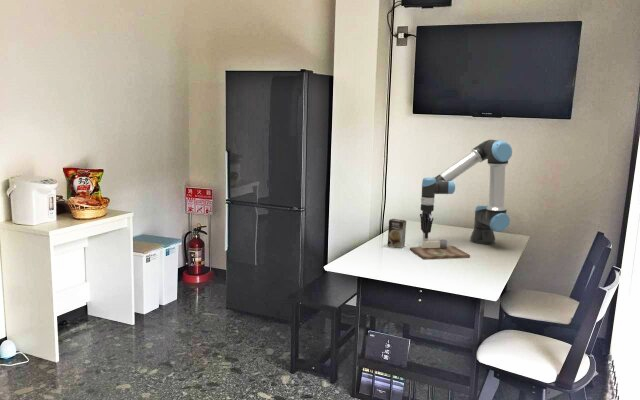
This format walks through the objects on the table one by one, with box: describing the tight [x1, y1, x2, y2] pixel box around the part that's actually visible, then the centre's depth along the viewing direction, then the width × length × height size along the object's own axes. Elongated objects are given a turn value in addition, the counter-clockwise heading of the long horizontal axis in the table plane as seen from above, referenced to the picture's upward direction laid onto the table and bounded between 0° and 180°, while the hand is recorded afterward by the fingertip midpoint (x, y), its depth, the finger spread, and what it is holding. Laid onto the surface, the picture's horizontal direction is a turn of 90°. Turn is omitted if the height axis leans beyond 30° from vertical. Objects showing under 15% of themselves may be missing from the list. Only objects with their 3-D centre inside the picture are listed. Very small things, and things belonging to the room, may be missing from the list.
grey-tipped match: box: [421, 239, 448, 249], centre depth 315 cm, size 15×4×4 cm, turn 103°
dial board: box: [409, 245, 471, 260], centre depth 309 cm, size 28×20×2 cm
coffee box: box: [387, 218, 407, 249], centre depth 322 cm, size 9×6×16 cm
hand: (424, 243), depth 319 cm, fingers closed
